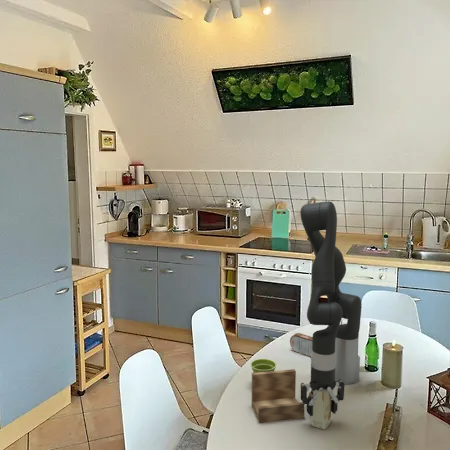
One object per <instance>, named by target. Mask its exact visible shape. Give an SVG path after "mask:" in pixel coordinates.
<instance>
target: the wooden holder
mask: <svg viewBox="0 0 450 450" xmlns="http://www.w3.org/2000/svg"><path fill="white" fill-rule="evenodd" d="M296 375H297V371H296V369H295V368H293V369H292V368H291V369H282V370H281V369H280V370H274V371H268V372H257V373H253V372H251V408H252V410H253V412H254V415H255V417H256V419H257V421H258V424H265V423H275V422H284V421H294V420H302V419H303V420H304V419H305V404H303V402H302V401H300V402H299V401H298V399H297V398H296V387H297V385H296V380H297V379H296Z"/></svg>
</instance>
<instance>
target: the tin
mask: <svg viewBox="0 0 450 450" xmlns="http://www.w3.org/2000/svg"><path fill="white" fill-rule="evenodd" d="M312 337H313V336H311V335H307V334H303V333H300V332H296V333H294V334H293V335H292V336H291V337H289V338H290V339H289V344H290V347H291V350H293V351H294V352H295V353H298V354H300V355H303V356H306V357H309V358H311V354H312Z"/></svg>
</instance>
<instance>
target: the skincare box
mask: <svg viewBox="0 0 450 450" xmlns="http://www.w3.org/2000/svg"><path fill="white" fill-rule="evenodd" d="M317 391H318V390H315V391H313V396H314V394H315V393H316V392H317ZM312 405H313V416H311V417H312V418H311V421H312V422H311V426H312V427H315V428H318V429H320V430H326V429H327V427H328V426H329V425H330V423H331V422H332V411H331V406H332V397H331V396H330V394H329V391H328V390H327V389H323V391H318V392H317V399H316V400H315V401H314V403H313V404H312Z"/></svg>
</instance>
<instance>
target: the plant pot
mask: <svg viewBox="0 0 450 450" xmlns="http://www.w3.org/2000/svg"><path fill="white" fill-rule="evenodd" d="M250 367H251V369H252V373H257V372H268V371H276V367H277V363H276V362H275V361H274V360H272V359H268V358H258V359H254V360H252V361H251V363H250Z"/></svg>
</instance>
